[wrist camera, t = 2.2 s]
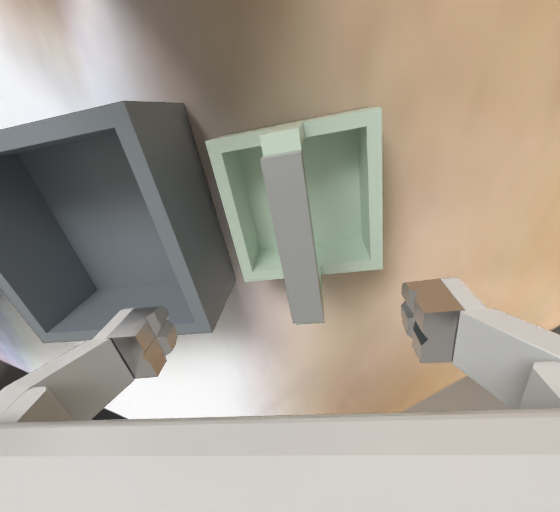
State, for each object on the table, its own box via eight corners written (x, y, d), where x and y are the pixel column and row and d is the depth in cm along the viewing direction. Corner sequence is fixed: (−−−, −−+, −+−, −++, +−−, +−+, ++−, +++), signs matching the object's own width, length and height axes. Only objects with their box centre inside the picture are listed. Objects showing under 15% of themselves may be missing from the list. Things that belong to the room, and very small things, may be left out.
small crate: (366, 107, 18) (419, 106, 9) (370, 241, 23) (408, 328, 14) (226, 134, 20) (154, 156, 11) (255, 254, 25) (222, 338, 16)
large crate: (183, 103, 19) (123, 101, 13) (236, 279, 26) (212, 332, 20) (11, 141, 22) (-105, 154, 16) (100, 292, 29) (42, 343, 23)
